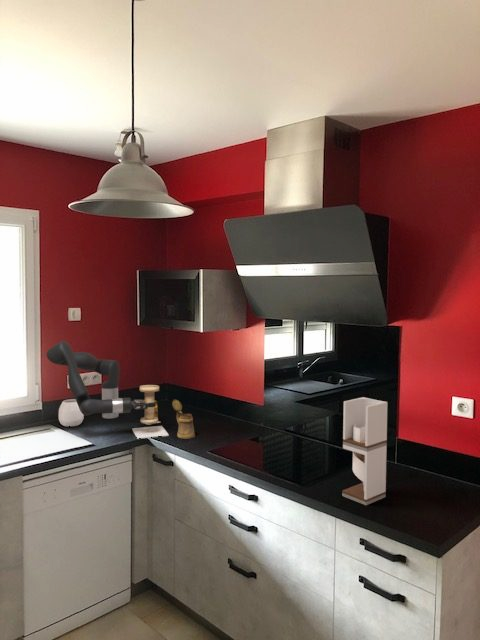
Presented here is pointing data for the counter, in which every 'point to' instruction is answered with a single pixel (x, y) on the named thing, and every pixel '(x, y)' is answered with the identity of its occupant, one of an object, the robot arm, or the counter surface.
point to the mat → (149, 432)
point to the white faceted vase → (70, 413)
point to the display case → (366, 447)
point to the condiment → (154, 413)
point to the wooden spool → (149, 398)
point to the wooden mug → (183, 422)
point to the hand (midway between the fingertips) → (154, 403)
